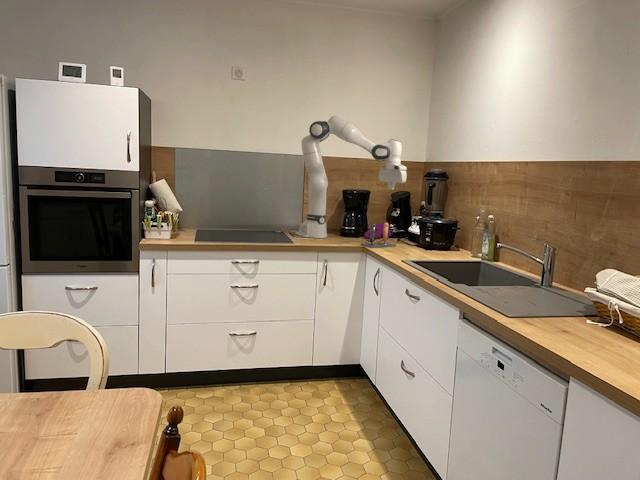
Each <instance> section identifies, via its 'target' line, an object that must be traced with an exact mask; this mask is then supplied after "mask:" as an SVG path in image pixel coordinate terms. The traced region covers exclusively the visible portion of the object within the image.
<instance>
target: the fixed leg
mask: <svg viewBox="0 0 640 480" xmlns="http://www.w3.org/2000/svg"><path fill="white" fill-rule="evenodd" d="M376 224H377V223H375V222H372V223H371V224H370V229H371V233H370V239H366V238H365V242H367V241H368V242H371V244H373V242H374V241H375V227H376Z"/></svg>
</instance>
